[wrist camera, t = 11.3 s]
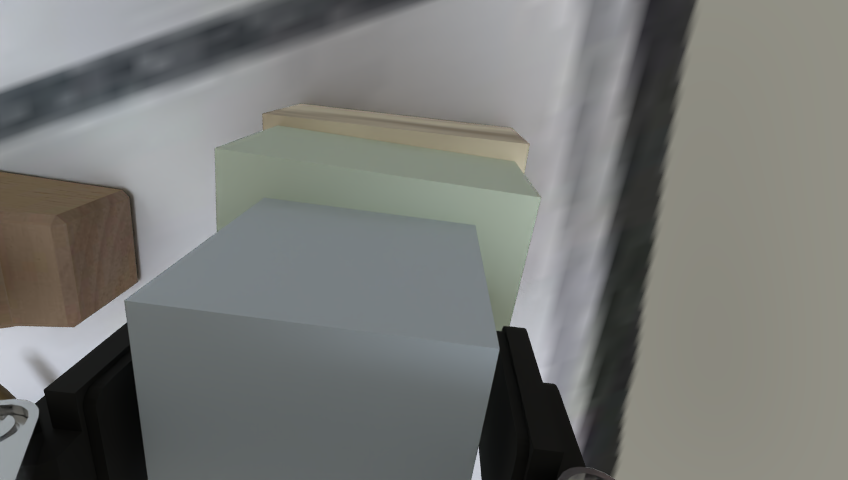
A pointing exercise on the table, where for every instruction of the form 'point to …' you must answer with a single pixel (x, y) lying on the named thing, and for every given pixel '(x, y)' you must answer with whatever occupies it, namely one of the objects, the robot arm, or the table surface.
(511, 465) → the robot arm
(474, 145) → the lower tower block
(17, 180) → the decorative block
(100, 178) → the table surface
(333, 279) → the grey-blue cube
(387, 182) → the upper tower block
